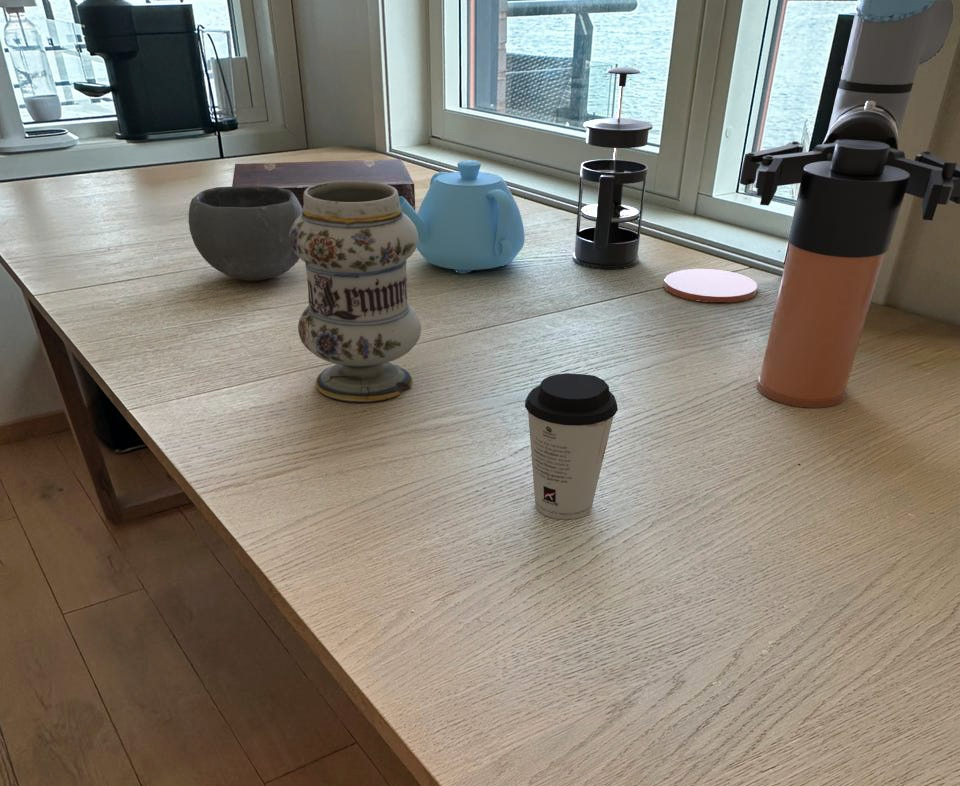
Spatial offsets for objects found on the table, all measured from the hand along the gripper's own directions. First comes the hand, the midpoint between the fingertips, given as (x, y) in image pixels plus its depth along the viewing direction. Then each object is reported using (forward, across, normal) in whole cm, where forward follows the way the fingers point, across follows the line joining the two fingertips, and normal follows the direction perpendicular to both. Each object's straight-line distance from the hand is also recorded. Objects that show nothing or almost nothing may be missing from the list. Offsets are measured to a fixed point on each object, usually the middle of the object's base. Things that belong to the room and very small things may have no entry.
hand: (848, 195), depth 74 cm
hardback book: (-53, -83, +19) cm, 100 cm away
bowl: (-14, -72, +19) cm, 76 cm away
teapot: (-29, -49, +19) cm, 60 cm away
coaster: (-32, -14, +18) cm, 40 cm away
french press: (-39, -30, +19) cm, 53 cm away
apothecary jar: (+13, -42, +19) cm, 48 cm away
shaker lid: (-2, 0, +4) cm, 5 cm away
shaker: (-2, 0, +18) cm, 19 cm away
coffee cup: (+29, -16, +19) cm, 38 cm away
